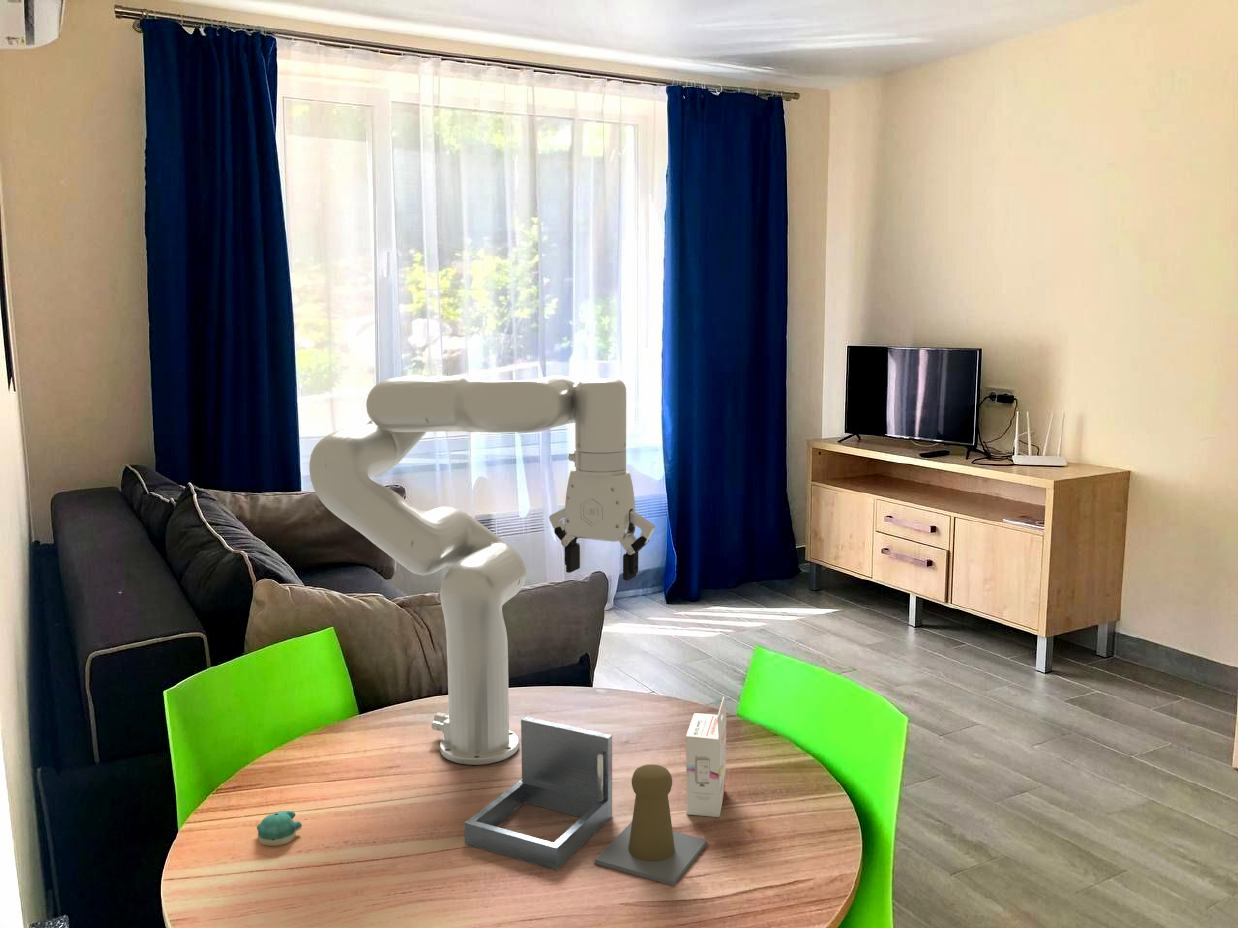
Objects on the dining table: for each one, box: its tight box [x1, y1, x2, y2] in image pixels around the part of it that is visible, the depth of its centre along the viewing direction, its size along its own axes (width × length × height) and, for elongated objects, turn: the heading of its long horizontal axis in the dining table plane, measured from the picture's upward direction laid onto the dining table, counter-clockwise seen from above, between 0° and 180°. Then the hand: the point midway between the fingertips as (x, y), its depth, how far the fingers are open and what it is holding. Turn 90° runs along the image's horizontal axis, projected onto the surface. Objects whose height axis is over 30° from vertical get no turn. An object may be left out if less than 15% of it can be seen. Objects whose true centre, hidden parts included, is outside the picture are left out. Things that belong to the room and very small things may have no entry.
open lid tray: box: [464, 716, 613, 871], centre depth 135 cm, size 14×15×12 cm
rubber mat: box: [594, 821, 708, 887], centre depth 130 cm, size 11×11×1 cm
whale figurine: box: [256, 810, 303, 847], centre depth 135 cm, size 6×7×4 cm
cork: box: [628, 763, 675, 862], centre depth 129 cm, size 6×6×11 cm
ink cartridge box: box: [685, 696, 727, 818], centre depth 143 cm, size 9×5×15 cm, turn 168°
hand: (601, 574), depth 151 cm, fingers open, 9 cm apart
